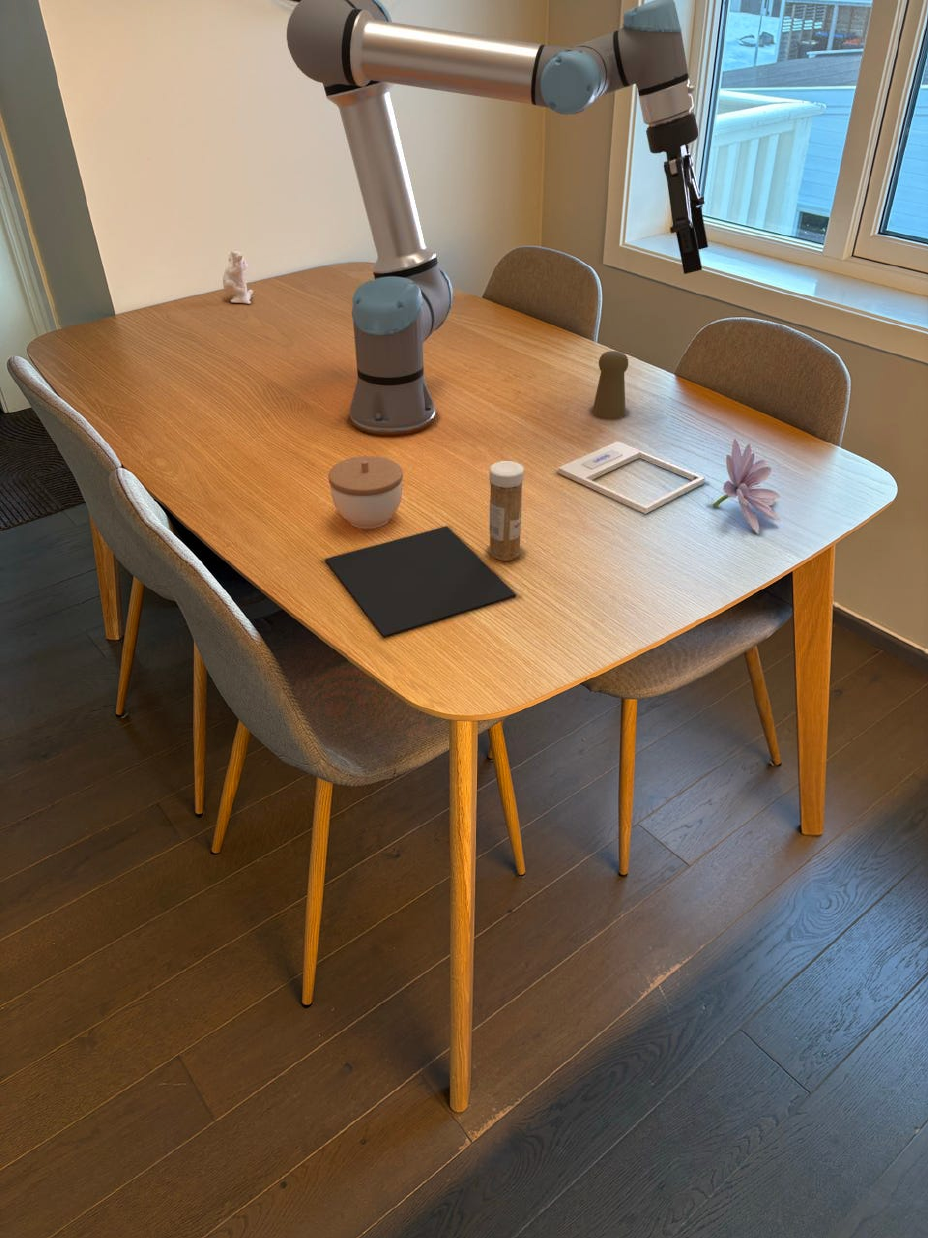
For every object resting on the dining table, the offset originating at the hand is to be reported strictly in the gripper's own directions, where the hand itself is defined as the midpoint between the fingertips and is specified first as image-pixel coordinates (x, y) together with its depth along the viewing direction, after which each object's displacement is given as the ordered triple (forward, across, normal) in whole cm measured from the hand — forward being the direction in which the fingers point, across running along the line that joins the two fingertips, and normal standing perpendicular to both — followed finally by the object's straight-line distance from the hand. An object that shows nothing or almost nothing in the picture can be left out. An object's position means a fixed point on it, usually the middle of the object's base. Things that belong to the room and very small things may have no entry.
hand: (696, 259), depth 151 cm
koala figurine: (-8, +41, +110) cm, 118 cm away
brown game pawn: (+23, 0, +20) cm, 30 cm away
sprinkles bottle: (+21, -52, +27) cm, 62 cm away
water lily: (+31, -32, -4) cm, 45 cm away
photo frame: (+25, -24, +13) cm, 37 cm away
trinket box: (+14, -48, +47) cm, 69 cm away
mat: (+17, -61, +36) cm, 73 cm away
